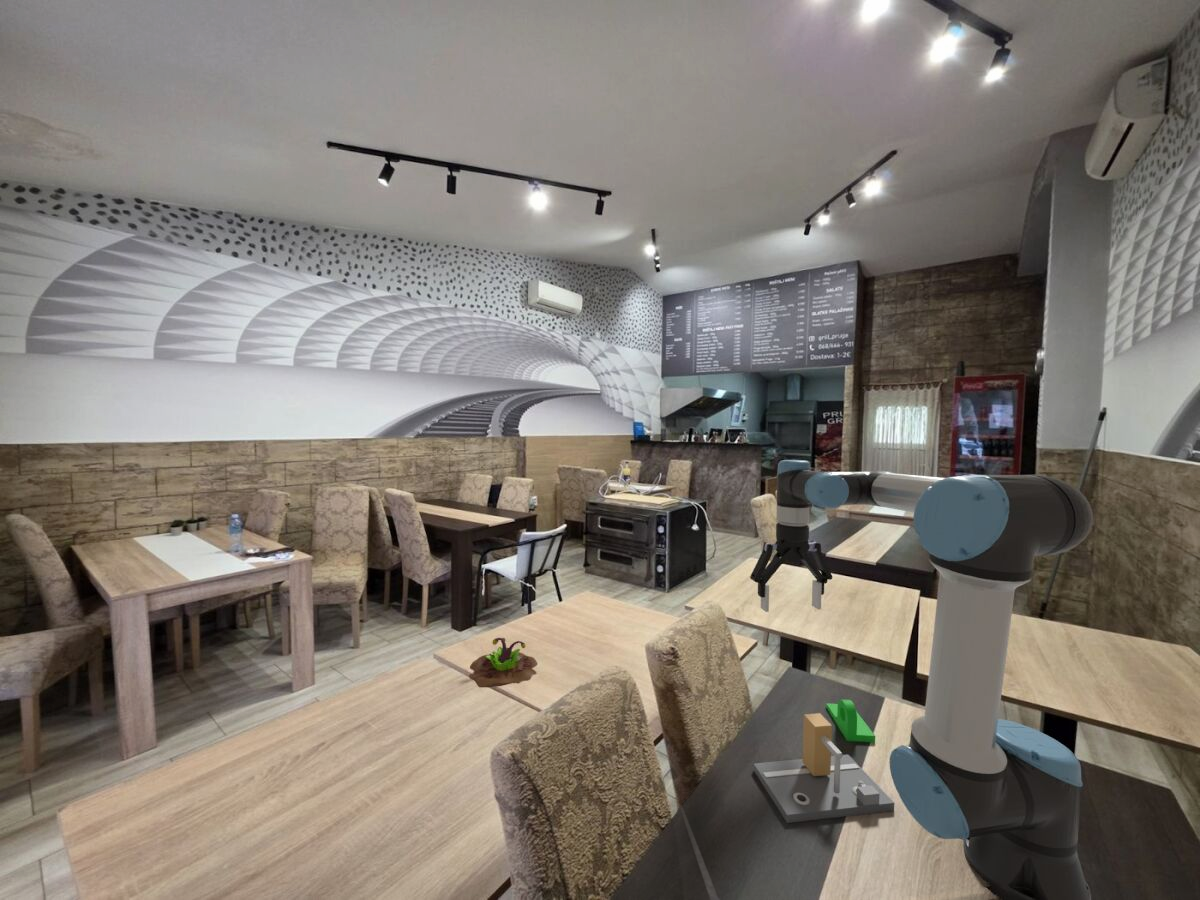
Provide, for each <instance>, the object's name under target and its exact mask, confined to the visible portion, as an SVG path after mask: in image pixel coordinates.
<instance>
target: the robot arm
mask: <svg viewBox="0 0 1200 900" xmlns="http://www.w3.org/2000/svg"><path fill="white" fill-rule="evenodd" d="M811 505H813V506H816V507H819V508H822V509H823V508H827V509H837V508H839V507H841V506H852V505H853V506H854V505H856V506H857V505H861V506H864V505H867V506H869V505H870V506H876V507H882V508H888V509H893V510H898V511H901V512H902V511H903V512H909V513H913V529H914V531H915V534H917V535H919V537H918V538H917V539H918V541H919V544H920V545H921V546H922V548H923V549H925V551H926V552H928V554H929V555H928V556H929V557H928V561H929V563H930V564H931V565H932V566H933V567H934V568H935V569H936V570H937V571H938V573H939V580H938V588H937V597H936V598H937V599H936V607H935V615H934V626H933V632H932V633H933V634H932V643H931V654H930V661H929V663H930V664H929V671H928V682H927V688H926V690H927V691H926V699H925V707H924V715H921V716H919V717H917V718H915V719H914V720H913V722H912V723H911V728H910V739H909V744H908V745H899V746H898V747H895V748H893V750H892V751H891V752H890V755H889V770H890V775H891V778H892V781H893V785H894V788H895V790H896V791H897V793H898V795H899V798H900V800H901V802H902V803H903V805H904V806H905V808H906V810H907V811H908V812H909V814H910V815H911V817H912V818H913V819H914V820H915V822H917V823H918V824H919V826H921V827H922V828H923V829H924V830H925V831H927V832H928V833H930V834H931V835H932V836H934V837H937V838H939V839H942V840H954V839H955V840H957V839H959V840H963V845H962V847H963V852H964V855H965V858H966V859H967V861H968V863H969V865H970V866H971V867H972V868H973V870H974V871H975V873H977V874H978V876H979V877H981V879H982V880H983V881H984V882H986V884H988V885H987V886H986V888H987V889H988V890H989V891H990V892H992V893H993V894H994V895H995V896H996V897H998V898H1000V899H1001V900H1092V894H1091V889H1090V887H1089V885H1088V883H1087V880H1086V878H1085V876H1084V873H1083V869H1082V865H1081V861H1080V858H1079V855H1078V839H1079V837H1078V835H1079V826H1080V825H1079V823H1080V822H1079V821H1080V807H1081V794H1082V793H1081V791H1082V787H1083V786H1084V785H1083V784H1084V783H1083V781H1082V766H1081V763H1080V761H1079V760H1078V758H1077V755H1075V754H1074V753H1073V752H1072V750H1070V749H1069V748H1068V747H1067V746H1065V745H1064V744H1062V743H1061V742H1059V740H1056V739H1055V738H1053V737H1051V736H1049V735H1048V734H1045V733H1043V732H1042V731H1039V730H1037V729H1034V728H1032V727H1030V726H1027V725H1024V724H1022V723H1019V722H1016V721H1012V720H1006V719H1003V718H1002V719H1000V718H999V716H1000V708H1001V702H1002V692H1003V685H1004V676H1005V669H1006V663H1007V662H1006V661H1007V655H1008V654H1007V653H1008V646H1009V640H1010V639H1009V637H1010V630H1011V623H1012V615H1013V609H1014V608H1013V606H1014V601H1015V599H1014V598H1015V592H1016V589H1017V588H1019V587H1021V586H1023V585H1025V584H1027V583H1029V582H1031V581H1032V576H1033V570H1034V569H1033V567H1034V562H1035V561H1034V560H1035V557H1043V556H1054V555H1059V554H1062V553H1065V552H1068V551H1070V550H1072V549H1075V548H1076V547H1078V546H1079V545H1080V544H1081V543H1082V542H1083V541H1084V540H1086V538H1087V537H1088V536H1089V534H1090V532H1091V530H1092V527H1093V523H1094V520H1093V519H1094V515H1093V511H1092V507H1091V504H1090V502H1089V501H1088V499H1087V497H1086V496H1085V495H1084V494H1083V493H1082V492H1081V491H1080V490H1079V489H1078V488H1076V487H1075V486H1074V485H1072V484H1070V483H1068V482H1066V481H1065V480H1062V479H1060V478H1057V477H1053V476H1049V475H1048V476H1047V475H1044V474H1043V475H1042V474H973V473H971V474H970V473H969V474H964V475H960V476H959V475H958V476H949V477H939V476H928V475H917V474H916V475H915V474H906V473H905V474H904V473H894V472H892V471H885V470H873V471H871V470H870V471H869V470H868V471H867V470H866V471H815V470H812V468H811V463H810V462H809V461H808V460H801V459H783V460H780V461H779V462H778V464H777V474H776V521H777V523H776V525H775V538H776V541H775V543H769V542H763V546H762V551H761V554H760V556H759V558H758V559H757V562H756V563H755V566H754V568H753V570H752V572H751V574H750V576H749V578H750V580H752V581H753V582H755V584H756V583H757V595H758V597H760V609H761V610H763V611H764V612H766V613H769V609H770V607H769V606H770V584H768V582H769V581H770V579H772V577H773V576H774V574H775V573H776V572H777V570H778V569H779V568H780V567H781V566H782V565H783V564H785V563H786V562H787V563H792V562H796V563H797V562H802V563H803V564H804V565H805V567H806V568H807V569H808V571H809V572H810V573H811V575H812V576H813V577H814V578H815V579H812V585H811V586H812V588H811V589H812V590H811V606H812V607H814V608H815V609H817V610H822V595H824V594H825V584H828V581H829V580H833V574H832V573H831V570H830V568H829V566H828V564H827V561H826V559H825V557H824V555H823V553H822V544H821V543H820V542H817V541H815V540H812V541H810V542H809V539H810V526H809V525H808V524H809V523H810V522H811V521H810V516H811V515H810V511H811V510H810V508H811V507H810V506H811ZM809 550H810V551H811V553H812V556H813V558H814V560H815V563H816V565H817V566H816V565H815V564H814V563H813V561H812V560H811V558H810V557H809V555H808V554H807V553H808V552H809ZM775 551H776V553H775ZM773 553H775V554H774V555H773ZM772 555H773V556H772ZM771 558H772V559H771ZM817 567H818V568H817Z"/></svg>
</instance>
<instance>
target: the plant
mask: <svg viewBox="0 0 1200 900" xmlns="http://www.w3.org/2000/svg"><path fill="white" fill-rule="evenodd" d="M499 641H500V642H501V645H502V646H499V647H498V648H497V652H496V651H494V650H493V651H492V653H489V654H484V655H481V656H479V657H478V658H477V659H475V660H474V661H472V663H471V665H469V669H470V670H472V672H473V673H470V674H469V675H468V676H469V679H471V680H472V681H474V682H475V683H476V684H477V685H478V687H479V688H491V687H499V686H505V685H509V684H510V685H511V684H521V683H523V682H526V681H527V682H528V681H530V680H531V679H532V677H533V676H535V675H536V674H538V672H537V671H536V670H535V669H533V668H535V667H537V666H538V662H537V660H536V659H535V658H534V657H533V656H528V655H526V654H524V653H523V652H520V651H521V648H522V649H525V648H526V647H527V645H526V643H525V642H523V641H522V640H516V641H514V642H513V643H511V644H510V646H509V647H507V645H506V638H505V637H496V638H494V639H493V640H492V645H493V646H494V645H497V644H498V643H499ZM517 644H520V646H521V648H516V649H515V650H513V648H515V647H514V646H516V645H517ZM512 650H513V651H512Z"/></svg>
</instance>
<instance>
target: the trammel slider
mask: <svg viewBox="0 0 1200 900" xmlns="http://www.w3.org/2000/svg"><path fill="white" fill-rule="evenodd" d="M802 727H803V730H802V732H803V733H802V734H803V735H802V759H803V761H802V762H803V763H804V765H805V766H806V767H807V768H808V770H809V771H810V772H811V773H812V775H813V776H821V775H830V770H831V756H835V763H834V792H835V793H840V764H841V758H842V755H843V753H842V752H841V750H840V749H839V748H838V747H837V746H836V745H835V744H834V743H833V742H832V738H833V737H832V733H833V732H832V731H833V730H832V729H833V725H832V724H831V723H830V722H829V721H828V720H827V718H825V717H824V716H823V714H821V712H818V713H816V712H815V713H807V714H805V713H804V714H803V726H802Z"/></svg>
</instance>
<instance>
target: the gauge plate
mask: <svg viewBox="0 0 1200 900" xmlns="http://www.w3.org/2000/svg"><path fill="white" fill-rule="evenodd" d="M802 761H803V758H800V759H799V758H798V759H788V760H777V761H767V762H756V763H753V771H754V774H755V775H756V776H757V778H758V780H759V782H760V783H761V784H762V787H764V789H765V791H766V793H767V794H768V796H769V797H770V800H772V801H773V804H774V805H775V806H776V808H777V809H778V811H779V813H780V815H781V816H782V817H783V819H784V821H785V823H787V824H790V823H798V822H799V823H801V822H805V821H806V822H808V821H815V820H816V821H817V820H825V819H834V818H842V817H851V816H858V815H859V816H860V815H867V814H868V815H869V814H877V813H886V812H894V811H895V802H894V801H893V800H892V799H891V797H890V796H889V795H888V794H886V792H885V791H884V790H883V789H882V788H881V787H880V786H879V785H878V784H877V783H876V782H875V780H873V779H872V778H871V776H869V774H867V772H865V770H864V769H862V767H861V766H859V764H858V763H857V762H856V761H855V760H854V759H853V758H852V756H850V755H849V754H842V758H841V764H840V793H835V792H834V763H835V756H834V755H831V770H830V775H821V776H813V775H812V773H811V772H810V771H809V770H808V768H807V767H806V766H805V765H804V763H803V762H802Z"/></svg>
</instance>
